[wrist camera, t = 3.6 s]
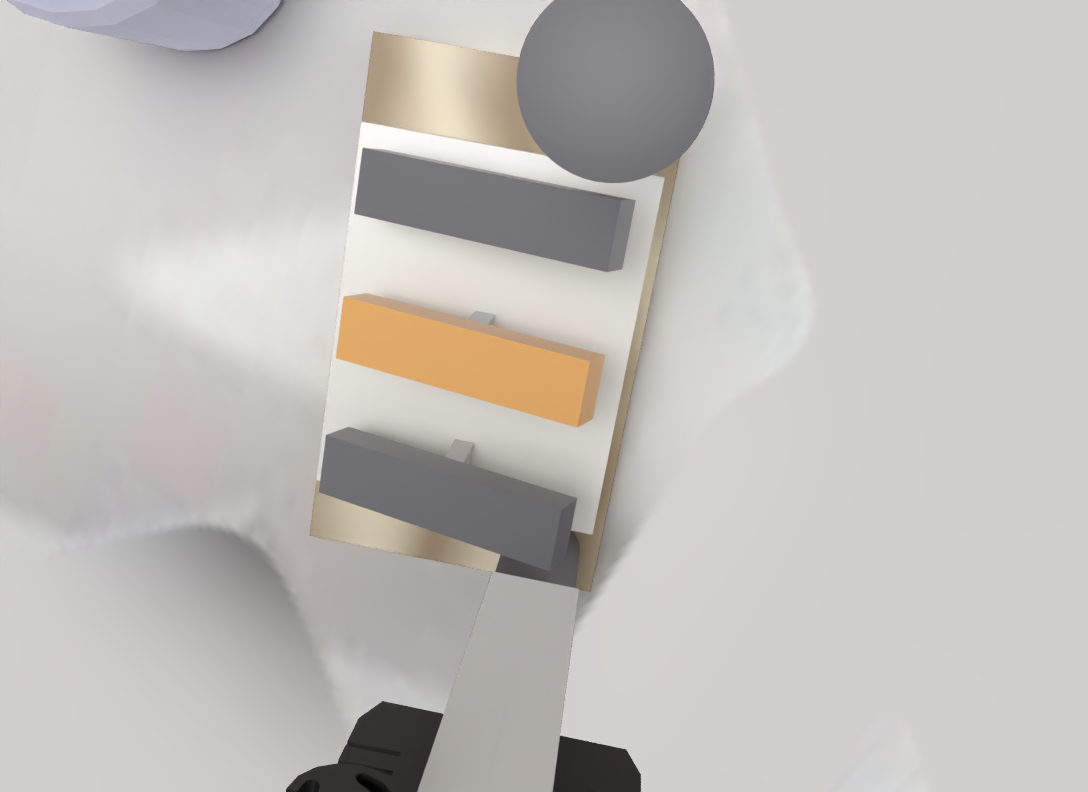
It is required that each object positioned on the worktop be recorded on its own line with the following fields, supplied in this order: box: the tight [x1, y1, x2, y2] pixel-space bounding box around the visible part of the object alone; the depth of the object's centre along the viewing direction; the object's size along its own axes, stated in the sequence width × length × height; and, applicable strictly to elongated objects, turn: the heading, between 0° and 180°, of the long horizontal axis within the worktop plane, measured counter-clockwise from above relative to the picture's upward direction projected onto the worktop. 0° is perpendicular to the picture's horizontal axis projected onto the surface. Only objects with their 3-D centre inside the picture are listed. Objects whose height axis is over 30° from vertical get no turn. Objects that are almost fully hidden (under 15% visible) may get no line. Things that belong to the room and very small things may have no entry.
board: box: [310, 31, 680, 592], centre depth 44 cm, size 13×22×2 cm, turn 170°
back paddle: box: [319, 427, 577, 571], centre depth 39 cm, size 10×2×2 cm, turn 79°
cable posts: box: [495, 0, 714, 588], centre depth 32 cm, size 3×22×24 cm, turn 170°
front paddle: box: [354, 148, 636, 272], centre depth 36 cm, size 10×2×2 cm, turn 79°
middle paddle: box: [336, 293, 605, 428], centre depth 37 cm, size 10×2×2 cm, turn 79°
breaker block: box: [316, 122, 665, 535], centre depth 41 cm, size 12×15×5 cm
